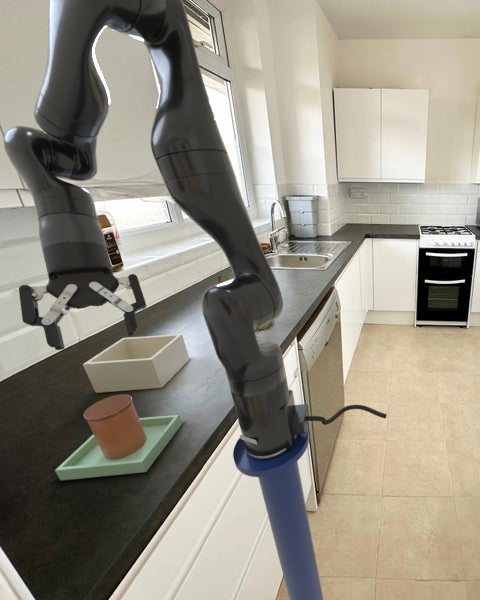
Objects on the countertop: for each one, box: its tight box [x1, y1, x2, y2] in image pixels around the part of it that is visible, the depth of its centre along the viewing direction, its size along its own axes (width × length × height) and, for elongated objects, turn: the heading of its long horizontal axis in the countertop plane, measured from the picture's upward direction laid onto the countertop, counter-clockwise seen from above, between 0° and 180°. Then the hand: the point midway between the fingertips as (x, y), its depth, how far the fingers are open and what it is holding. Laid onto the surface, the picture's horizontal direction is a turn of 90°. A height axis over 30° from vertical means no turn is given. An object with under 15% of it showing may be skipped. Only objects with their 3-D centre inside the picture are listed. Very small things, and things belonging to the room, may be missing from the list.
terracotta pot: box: [82, 393, 147, 460], centre depth 55 cm, size 6×6×9 cm
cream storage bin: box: [82, 333, 190, 394], centre depth 78 cm, size 15×13×8 cm
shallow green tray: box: [54, 414, 183, 481], centre depth 56 cm, size 13×11×2 cm
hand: (97, 341), depth 51 cm, fingers open, 8 cm apart
